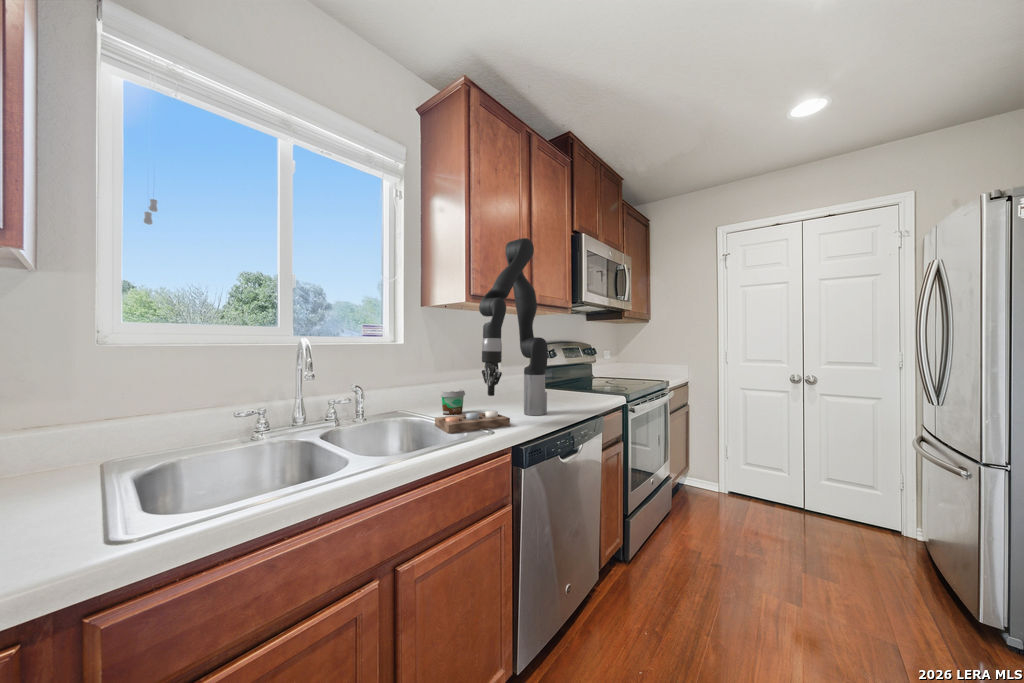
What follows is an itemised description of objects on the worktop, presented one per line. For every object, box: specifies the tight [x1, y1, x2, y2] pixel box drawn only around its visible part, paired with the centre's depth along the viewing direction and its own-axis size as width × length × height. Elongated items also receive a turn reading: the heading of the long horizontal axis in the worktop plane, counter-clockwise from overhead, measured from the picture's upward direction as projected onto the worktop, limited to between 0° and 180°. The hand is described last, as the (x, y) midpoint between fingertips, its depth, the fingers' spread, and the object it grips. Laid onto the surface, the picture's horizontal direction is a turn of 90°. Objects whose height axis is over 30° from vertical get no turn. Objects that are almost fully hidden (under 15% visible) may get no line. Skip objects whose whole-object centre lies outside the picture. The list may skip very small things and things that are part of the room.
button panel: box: [434, 412, 511, 434], centre depth 142 cm, size 24×14×3 cm, turn 120°
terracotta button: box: [445, 416, 459, 422], centre depth 138 cm, size 5×5×3 cm
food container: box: [440, 388, 466, 416], centre depth 165 cm, size 12×6×10 cm, turn 143°
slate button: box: [465, 412, 480, 420], centre depth 142 cm, size 5×5×3 cm
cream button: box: [484, 410, 499, 418], centre depth 146 cm, size 5×5×3 cm
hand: (490, 395), depth 146 cm, fingers closed
